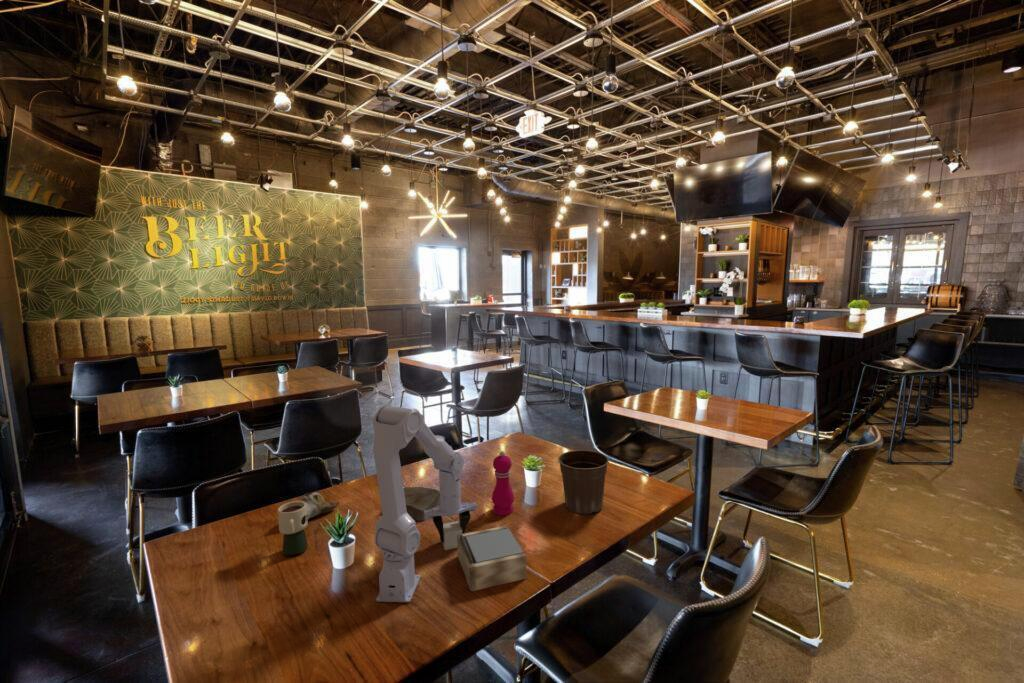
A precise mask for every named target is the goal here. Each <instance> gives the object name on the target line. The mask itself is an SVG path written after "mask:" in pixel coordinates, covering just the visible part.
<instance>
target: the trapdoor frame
mask: <svg viewBox="0 0 1024 683" xmlns="http://www.w3.org/2000/svg"><path fill="white" fill-rule="evenodd" d="M508 528H509V526H508V525H503V526H502V525H501V526H497V527H492V528H487V529H482V530H477V531H476V530H475V531H471V532H465V533H464V534H460V535H457V545H458V548H457V557H458V560H459V562H460V566H461V569H462V571H463V574H464V577H465V579H466V582H467V585H468V588H469V589H470V590H469V591H470V592H474V591H480V590H485V589H487V588H492V587H497V586H500V585H505V584H508V583H513V582H518V581H521V580H525V579H526V580H527V556H526V553H522V554H518V555H513V556H508V557H504V558H499V559H494V560H490V561H485V562H481V563H475V562H474V558H473V556H472V554H471V551H470V549H469V546H468V544H467V542H466V537H467V536H472V535H477V534H482V533H487V532H492V531H497V530H502V529H508Z"/></svg>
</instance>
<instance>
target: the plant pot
mask: <svg viewBox="0 0 1024 683" xmlns="http://www.w3.org/2000/svg"><path fill="white" fill-rule="evenodd" d="M557 461H558V463H559V468H560V473H561V476H562V477H561V478H562V486H563V494H564V503H565V505H564V506H565V508H567V509H568V510H569V511H570V512H572V513H574V514H579V515H592V514H593V513H599V512H600V511H602V510H603V507H604V496H605V495H604V494H605V483H606V482H605V481H606V474H607V472H608V471H607V470H608V469H607V468H608V464H609V463H610V459H609V457H608V456H607V455H606V454H604V453H601V452H598V451H595V450H587V449H586V450H585V449H578V450H576V449H575V450H570V451H566V452H563V453H561V454H560V455H559V456H558V457H557Z"/></svg>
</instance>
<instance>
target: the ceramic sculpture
mask: <svg viewBox="0 0 1024 683" xmlns="http://www.w3.org/2000/svg"><path fill="white" fill-rule="evenodd" d="M300 501H303V502H305V503H306V509H307V521H309V519H311V518H315V517H317V516H319V515H321V514H325V513H329V512H331V511H333V510H335V508H336V507H337V506H338V505H339V504H340V502H339V501H338V502H332V501H331V502H330V501H329V502H326V501H325V497H324V496H323V494H321V493H318V492H311V491H308V492H306V493H305V494H303V495H302V496H301V499H300Z"/></svg>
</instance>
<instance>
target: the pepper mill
mask: <svg viewBox="0 0 1024 683" xmlns="http://www.w3.org/2000/svg"><path fill="white" fill-rule="evenodd" d="M512 465H513V464H512V459H511V458H510V456H507V455H506V454H505V451H503V450H501V451H500V452H499V455H497V456H495V457H494V459H493V460H492V467H493V469H494V476H495V477H496V479H495V481H496V482H495V487H494V489H493V491H492V494H491V501H492V503H493V513H494V514H495V515H498V516H501V517H502V516H508V515H509V516H510V515H511V514H512V513H513V511H514V506H513V504H514V501H515V494H514V491H513V489H512V487H511V484H510V476H511V468H512Z"/></svg>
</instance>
